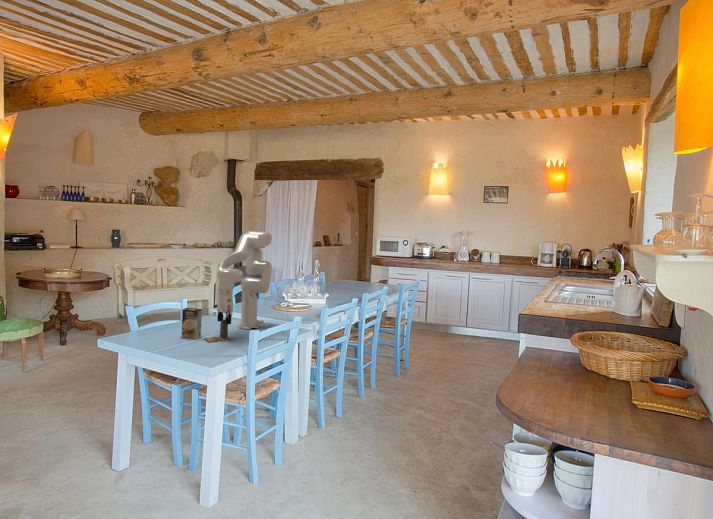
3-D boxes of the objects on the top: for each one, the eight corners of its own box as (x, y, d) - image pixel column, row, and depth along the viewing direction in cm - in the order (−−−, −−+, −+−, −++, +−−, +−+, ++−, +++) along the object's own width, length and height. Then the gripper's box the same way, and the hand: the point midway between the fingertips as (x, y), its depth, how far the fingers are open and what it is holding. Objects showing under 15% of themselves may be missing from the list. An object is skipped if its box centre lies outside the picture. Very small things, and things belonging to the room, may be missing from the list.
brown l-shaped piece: (224, 337, 282) (224, 318, 281) (229, 340, 277) (230, 320, 276) (203, 340, 274) (204, 320, 273) (209, 343, 269) (209, 322, 268)
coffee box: (180, 338, 275) (181, 309, 274) (185, 335, 282) (186, 307, 280) (196, 339, 275) (197, 310, 273) (201, 336, 281) (202, 308, 280)
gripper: (239, 294, 272) (237, 325, 273) (224, 290, 285) (223, 319, 286) (226, 294, 267) (224, 326, 268) (212, 290, 280) (211, 320, 281)
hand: (224, 322), depth 277 cm, fingers open, 9 cm apart
